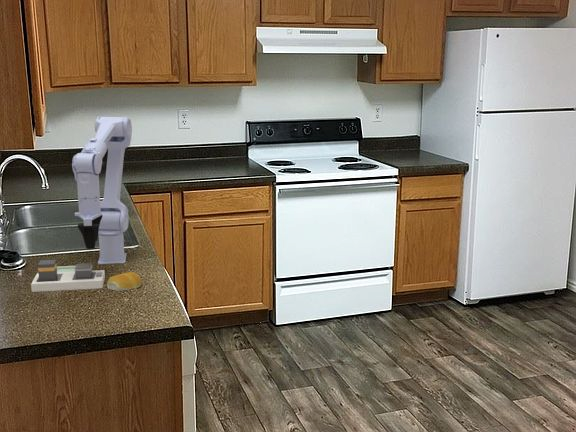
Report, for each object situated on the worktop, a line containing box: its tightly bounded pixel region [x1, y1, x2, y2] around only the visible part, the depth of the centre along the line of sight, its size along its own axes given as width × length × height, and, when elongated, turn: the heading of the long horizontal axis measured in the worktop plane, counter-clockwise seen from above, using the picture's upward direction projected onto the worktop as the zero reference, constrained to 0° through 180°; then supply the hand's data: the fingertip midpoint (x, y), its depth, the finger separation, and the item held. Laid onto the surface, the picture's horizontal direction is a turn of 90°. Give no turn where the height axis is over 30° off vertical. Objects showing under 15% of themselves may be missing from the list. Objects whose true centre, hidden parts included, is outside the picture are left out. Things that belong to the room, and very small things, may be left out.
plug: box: [37, 259, 58, 282], centre depth 178 cm, size 4×4×7 cm
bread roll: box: [106, 271, 143, 292], centre depth 179 cm, size 8×9×4 cm
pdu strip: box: [30, 262, 106, 293], centre depth 179 cm, size 9×18×6 cm, turn 101°
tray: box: [57, 265, 76, 272], centre depth 188 cm, size 9×9×1 cm
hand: (91, 244), depth 183 cm, fingers open, 7 cm apart
